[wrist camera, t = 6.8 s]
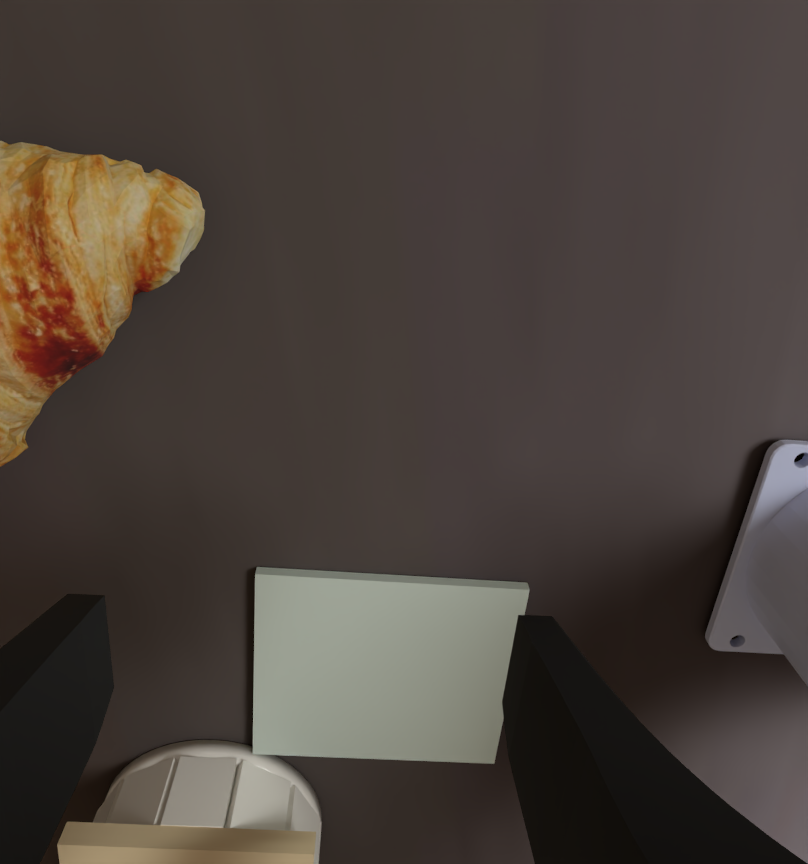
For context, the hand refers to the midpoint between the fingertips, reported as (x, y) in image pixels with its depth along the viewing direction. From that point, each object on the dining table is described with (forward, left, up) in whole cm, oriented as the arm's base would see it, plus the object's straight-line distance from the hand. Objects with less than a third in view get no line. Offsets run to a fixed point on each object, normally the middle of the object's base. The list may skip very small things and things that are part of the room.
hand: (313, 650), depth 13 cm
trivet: (-2, +9, -10) cm, 14 cm away
